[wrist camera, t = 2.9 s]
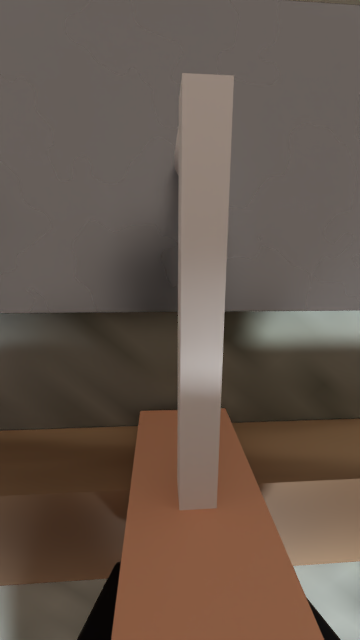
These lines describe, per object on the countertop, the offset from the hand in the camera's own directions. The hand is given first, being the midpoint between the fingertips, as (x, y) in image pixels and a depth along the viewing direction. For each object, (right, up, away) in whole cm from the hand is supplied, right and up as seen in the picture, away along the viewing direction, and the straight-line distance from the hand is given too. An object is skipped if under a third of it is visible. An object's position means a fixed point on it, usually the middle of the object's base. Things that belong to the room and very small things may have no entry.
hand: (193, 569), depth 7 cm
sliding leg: (0, +5, +3) cm, 5 cm away
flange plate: (0, +11, +2) cm, 11 cm away
